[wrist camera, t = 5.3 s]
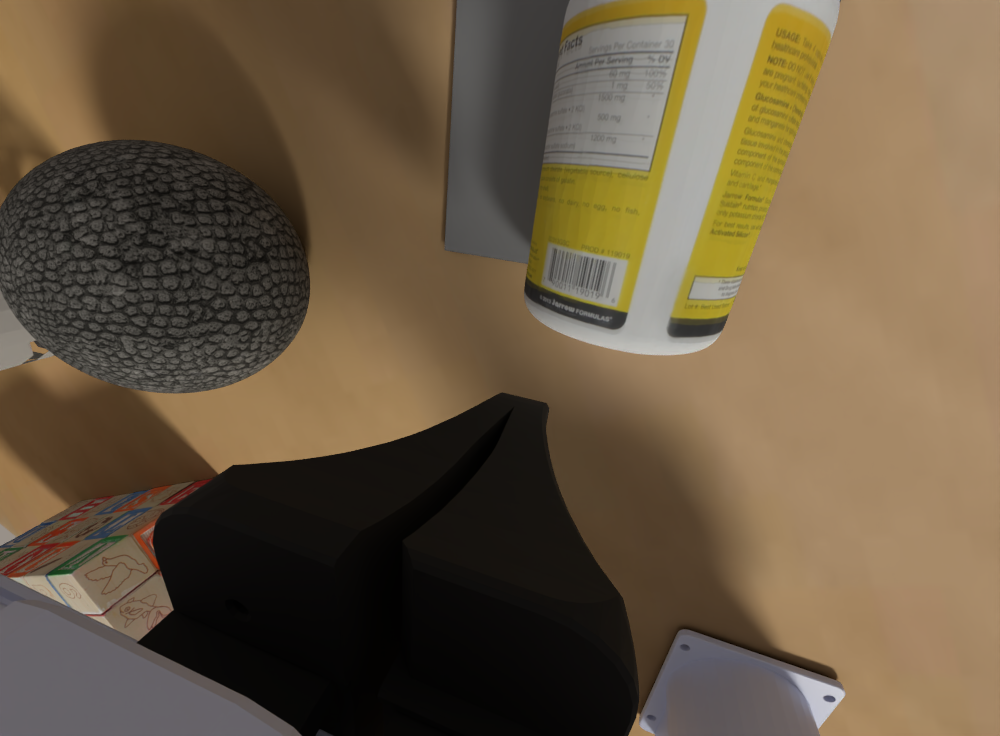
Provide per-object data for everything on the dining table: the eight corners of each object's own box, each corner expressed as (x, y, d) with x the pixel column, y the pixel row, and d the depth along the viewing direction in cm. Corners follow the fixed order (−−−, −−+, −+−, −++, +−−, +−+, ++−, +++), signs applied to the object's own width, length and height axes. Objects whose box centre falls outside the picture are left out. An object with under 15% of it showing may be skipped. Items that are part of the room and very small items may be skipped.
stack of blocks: (222, 472, 30) (-8, 625, 20) (263, 539, 32) (73, 714, 21) (80, 500, 39) (-135, 618, 28) (119, 552, 40) (-70, 682, 30)
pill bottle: (710, 324, 16) (859, -87, 11) (720, 388, 10) (1030, -385, 5) (550, 288, 18) (616, -71, 13) (487, 325, 12) (560, -275, 7)
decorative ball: (170, 169, 22) (-154, 151, 13) (324, 136, 18) (35, 80, 10) (235, 349, 25) (16, 432, 16) (373, 347, 22) (195, 448, 13)
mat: (732, 295, 16) (735, 298, 16) (448, 249, 19) (444, 250, 18) (928, -260, 10) (938, -276, 10) (472, -210, 13) (468, -221, 12)
